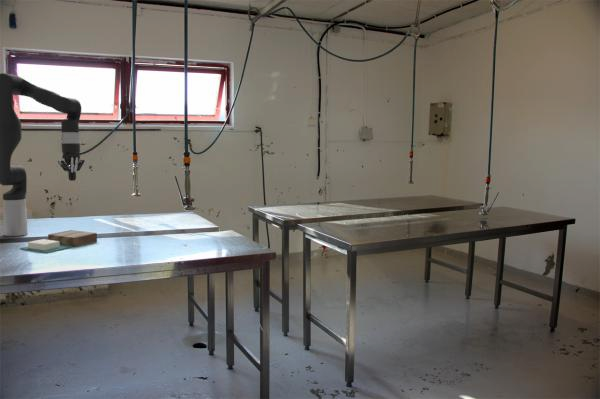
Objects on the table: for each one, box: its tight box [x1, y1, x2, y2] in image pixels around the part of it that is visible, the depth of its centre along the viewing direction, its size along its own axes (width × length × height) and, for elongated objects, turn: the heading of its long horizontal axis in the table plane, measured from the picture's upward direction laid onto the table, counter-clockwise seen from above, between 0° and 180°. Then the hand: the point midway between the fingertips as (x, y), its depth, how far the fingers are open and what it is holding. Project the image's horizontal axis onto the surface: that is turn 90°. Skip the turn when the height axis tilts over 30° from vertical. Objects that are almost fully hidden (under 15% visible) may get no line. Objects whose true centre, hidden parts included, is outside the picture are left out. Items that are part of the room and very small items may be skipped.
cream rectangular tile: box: [27, 238, 60, 250], centre depth 192 cm, size 10×7×2 cm
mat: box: [19, 245, 74, 254], centre depth 193 cm, size 16×12×1 cm
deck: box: [47, 229, 98, 248], centre depth 205 cm, size 16×12×4 cm
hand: (72, 180), depth 211 cm, fingers closed
